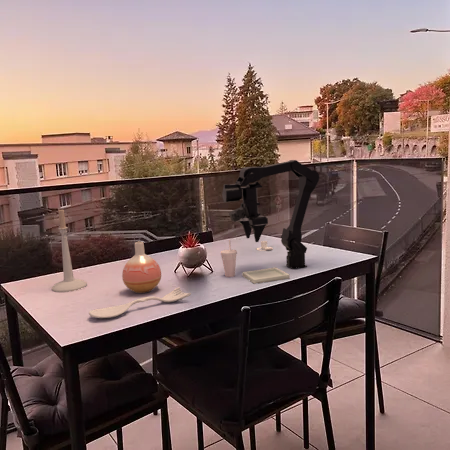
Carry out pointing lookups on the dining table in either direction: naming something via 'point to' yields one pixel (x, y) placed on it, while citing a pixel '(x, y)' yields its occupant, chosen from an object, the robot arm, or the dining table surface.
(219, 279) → the dining table surface
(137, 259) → the vase
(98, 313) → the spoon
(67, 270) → the candlestick
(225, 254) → the smoothie
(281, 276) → the tray
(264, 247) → the teacup and saucer
